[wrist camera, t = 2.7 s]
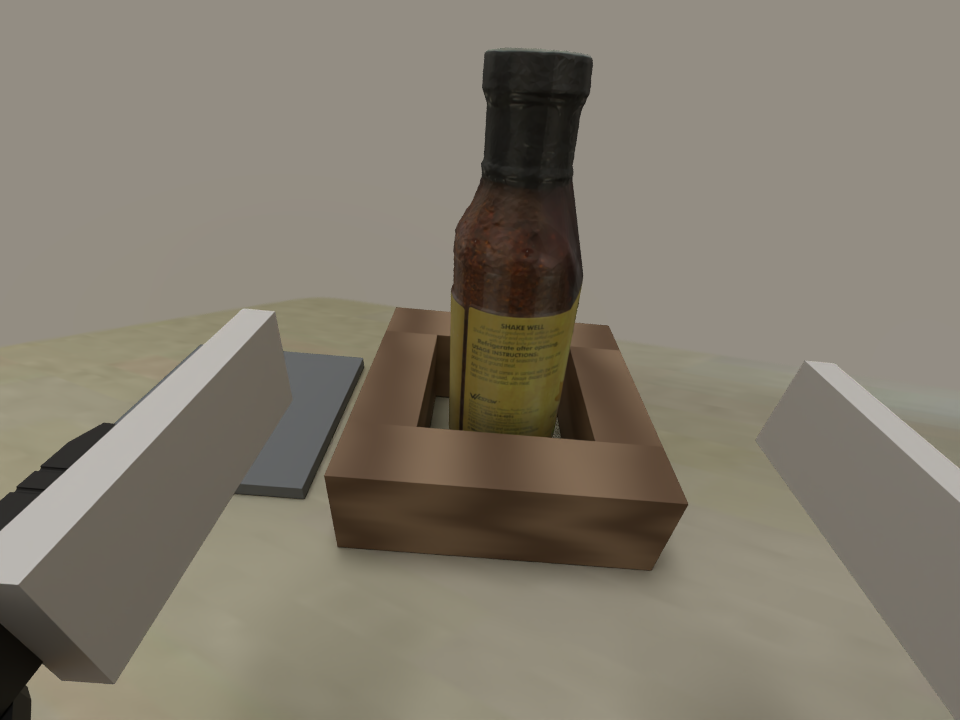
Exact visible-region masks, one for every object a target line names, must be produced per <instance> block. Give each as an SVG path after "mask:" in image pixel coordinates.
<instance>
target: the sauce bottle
mask: <svg viewBox="0 0 960 720" xmlns="http://www.w3.org/2000/svg"><path fill="white" fill-rule="evenodd" d="M484 58H485V59H484V69H483V84H482V88H483V92H484V95H485V98H486V101H487V112H486V131H485V150H484V159H483V161H482V163H481V167H482V178H481V180H480V185H479V186H478V189H477V191H476V193H475V196H474V199H473V201H472V203H471V204H470V206H469V207H468V208H467V209H466V211H465V213H464V215H463V216H462V218H461V219H460V221H459V223H458V225H457V227H456V229H455V233H456V235H455V241H454V284H453V286H452V289H451V328H450V393H449V429H450V430H461V431H473V432H485V433H498V434H510V435H522V436H535V437H547V438H552V437H553V433H554V428H555V423H556V418H557V413H558V408H559V403H560V398H561V393H562V387H563V381H564V377H565V371H566V366H567V361H568V356H569V351H570V345H571V340H572V335H573V331H574V324H575V319H576V313H577V308H578V304H579V298H580V292H581V286H582V281H583V269H582V260H581V251H580V243H579V234H578V225H577V216H576V207H575V198H574V190H573V182H572V176H573V166H572V165H573V160H574V152H575V146H576V141H577V133H578V128H579V119H580V115H581V111H582V108H583V106H584V104H585V102H586V99H587V97H588V96H589V93H590V88H591V75H592V67H593V62H592V61H593V60H592V58H591V56H590V55H588V54H582V53H576V52H568V51H557V50H544V49H522V48H500V49H492V50H488V51H486V52H485V55H484Z"/></svg>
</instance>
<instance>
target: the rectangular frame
mask: <svg viewBox="0 0 960 720" xmlns="http://www.w3.org/2000/svg"><path fill="white" fill-rule="evenodd" d="M450 328H451V312H444V311H433V310H421V309H409V308H398V307H396V309H395V312H394V314H393V316H392V319H391V321H390V323H389V326H388V328H387V330H386V333H385V335H384V337H383V340H382V342H381V344H380V347H379V349H378V351H377V354H376V356H375V358H374V361H373V363H372V365H371V368H370V370H369V372H368V375H367V377H366V379H365V382H364V384H363V386H362V389H361V391H360V393H359V396H358V398H357V400H356V403H355V405H354V407H353V410H352V412H351V414H350V417H349V419H348V421H347V424H346V426H345V428H344V431H343V433H342V435H341V438H340V440H339V442H338V445H337V447H336V449H335V452H334V454H333V456H332V459H331V461H330V463H329V466H328V468H327V470H326V473H325V475H324V477H325V482H326V488H327V493H328V498H329V504H330V509H331V514H332V520H333V525H334V530H335V536H336V541H337V546H338V547H348V548H361V549H374V550H388V551H401V552H414V553H427V554H441V555H454V556H467V557H480V558H494V559H507V560H520V561H534V562H547V563H560V564H573V565H587V566H600V567H613V568H626V569H640V570H652V568H653V567H654V565H655V563H656V561H657V559H658V558H659V556H660V554H661V552H662V551H663V549H664V547H665V545H666V543H667V542H668V540H669V538H670V536H671V534H672V533H673V531H674V529H675V527H676V526H677V524H678V522H679V520H680V518H681V517H682V515H683V513H684V511H685V509H686V508H687V506H688V502H687V500H686V498H685V495H684V493H683V491H682V489H681V486H680V484H679V482H678V480H677V477H676V475H675V473H674V471H673V469H672V466H671V464H670V462H669V460H668V457H667V455H666V453H665V451H664V448H663V446H662V444H661V442H660V439H659V437H658V435H657V433H656V431H655V428H654V426H653V424H652V422H651V419H650V417H649V415H648V413H647V410H646V408H645V406H644V404H643V401H642V399H641V397H640V395H639V393H638V390H637V388H636V386H635V384H634V381H633V379H632V377H631V375H630V372H629V370H628V368H627V366H626V363H625V361H624V359H623V357H622V355H621V352H620V350H619V348H618V346H617V343H616V341H615V339H614V337H613V334H612V332H611V330H610V328H609V326H607V325H595V324H584V323H575V324H574V331H573V335H572V340H571V345H570V351H569V356H568V361H567V366H566V371H565V377H564V381H563V387H562V393H561V398H560V403H559V408H558V413H557V417H558V422H559V428H560V433H561V439H560V438H547V437H535V436H522V435H510V434H498V433H485V432H473V431H461V430H448V429H436V428H430V423H431V418H432V413H433V407H434V402H435V397H436V396H443V397H449V393H450Z"/></svg>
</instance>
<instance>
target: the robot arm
mask: <svg viewBox="0 0 960 720" xmlns="http://www.w3.org/2000/svg"><path fill="white" fill-rule="evenodd" d="M292 400H293V398H292V393H291V388H290V383H289V379H288V374H287V369H286V364H285V359H284V354H283V349H282V344H281V339H280V334H279V329H278V324H277V319H276V314H275V311H264V310H254V309H242V310H241V311H240V312H239V313H238V314H237V315H235V316H234V317H233V318H232V319H231V320H230V321H229V322H228V323H227V324H226V325H225V326H223V327H222V328H221V329H220V330H219V331H218V332H217V333H216V334H215V335H214V336H213V337H211V338H210V339H209V340H208V341H207V342H206V343H205V344H204V345H203V346H202V347H201V348H199V349H198V350H197V351H196V352H195V353H194V354H193V355H192V356H191V357H190V358H189V359H187V360H186V361H185V362H184V363H183V364H182V365H181V366H180V367H179V368H178V369H177V370H175V371H174V372H173V373H172V374H171V375H170V376H169V377H168V378H167V379H166V380H165V381H163V382H162V383H161V384H160V385H159V386H158V387H157V388H156V389H155V390H154V391H153V392H151V393H150V394H149V395H148V396H147V397H146V398H145V399H144V400H143V401H142V402H141V403H139V404H138V405H137V406H136V407H135V408H134V409H133V410H132V411H131V412H130V413H129V414H127V415H126V416H125V417H124V418H123V419H122V420H121V421H120V422H119V423H118V424H111V423H102V424H101V425H99V426H97V427H95V428H93V429H92V430H90V431H88V432H86V433H84V434H82V435H81V436H79V437H77V438H75V439H73V440H71V441H70V442H68V443H67V444H66V445H65V446H63V447H62V448H61V449H60V450H59V451H58V452H56V453H55V454H54V455H53V456H52V457H51V458H49V459H48V460H47V461H46V462H45V463H44V464H42V465H41V469H40V470H39V471H34V472H33V473H32V474H31V475H30V476H28V477H27V478H26V479H25V480H24V481H23V482H21V483H20V484H19V485H18V486H17V489H16V491H15V492H10V493H8V494H7V495H6V496H5V497H4V498H3V499H1V500H0V720H31V698H30V694H29V691H28V687H27V686H26V684H27V682H28V681H29V680H30V679H31V677H32V676H33V675H34V673H35V672H36V671H37V670H38V668H39V667H40V666H41V664H43V665H45V666H46V667H47V668H48V669H49V670H50V671H51V672H52V673H54V674H55V675H56V676H57V677H58V678H59V679H60V680H62V681H76V682H90V683H104V684H115V682H116V681H117V679H118V678H119V676H120V674H121V673H122V671H123V670H124V668H125V666H126V665H127V663H128V662H129V660H130V658H131V657H132V655H133V654H134V652H135V651H136V649H137V647H138V646H139V644H140V643H141V641H142V639H143V638H144V636H145V635H146V633H147V631H148V630H149V628H150V627H151V625H152V623H153V622H154V620H155V619H156V617H157V615H158V614H159V612H160V611H161V609H162V607H163V606H164V604H165V603H166V601H167V600H168V598H169V596H170V595H171V593H172V592H173V590H174V588H175V587H176V585H177V584H178V582H179V580H180V579H181V577H182V576H183V574H184V572H185V571H186V569H187V568H188V566H189V564H190V563H191V561H192V560H193V558H194V556H195V555H196V553H197V552H198V550H199V548H200V547H201V545H202V544H203V542H204V541H205V539H206V537H207V536H208V534H209V533H210V531H211V529H212V528H213V526H214V525H215V523H216V521H217V520H218V518H219V517H220V515H221V513H222V512H223V510H224V509H225V507H226V505H227V504H228V502H229V501H230V499H231V497H232V496H233V494H234V493H235V491H236V490H237V488H238V486H239V485H240V483H241V482H242V480H243V478H244V477H245V475H246V474H247V472H248V470H249V469H250V467H251V466H252V464H253V462H254V461H255V459H256V458H257V456H258V454H259V453H260V451H261V450H262V448H263V446H264V445H265V443H266V442H267V440H268V439H269V437H270V435H271V434H272V432H273V431H274V429H275V427H276V426H277V424H278V423H279V421H280V419H281V418H282V416H283V415H284V413H285V411H286V410H287V408H288V407H289V405H290V403H291V402H292ZM755 441H756V442H757V444H758V445H759V447H760V448H761V449H762V451H763V452H764V453H765V455H766V456H767V458H768V459H769V460H770V462H771V463H772V465H773V466H774V467H775V469H776V470H777V472H778V473H779V474H780V476H781V477H782V479H783V480H784V481H785V483H786V484H787V486H788V487H789V488H790V490H791V491H792V493H793V494H794V495H795V497H796V498H797V500H798V501H799V502H800V504H801V505H802V507H803V508H804V509H805V511H806V512H807V513H808V515H809V516H810V518H811V519H812V520H813V522H814V523H815V525H816V526H817V527H818V529H819V530H820V532H821V533H822V534H823V536H824V537H825V539H826V540H827V541H828V543H829V544H830V546H831V547H832V548H833V550H834V551H835V553H836V554H837V555H838V557H839V558H840V560H841V561H842V562H843V564H844V565H845V567H846V568H847V569H848V571H849V572H850V573H851V575H852V576H853V578H854V579H855V580H856V582H857V583H858V585H859V586H860V587H861V589H862V590H863V592H864V593H865V594H866V596H867V597H868V599H869V600H870V601H871V603H872V604H873V606H874V607H875V608H876V610H877V611H878V613H879V614H880V615H881V617H882V618H883V620H884V621H885V622H886V624H887V625H888V627H889V628H890V629H891V631H892V632H893V633H894V635H895V636H896V638H897V639H898V640H899V642H900V643H901V645H902V646H903V647H904V649H905V650H906V652H907V653H908V654H909V656H910V657H911V659H912V660H913V661H914V663H915V664H916V666H917V667H918V668H919V670H920V671H921V673H922V674H923V675H924V677H925V678H926V680H927V681H928V682H929V684H930V685H931V686H932V688H933V689H934V691H935V692H936V693H937V695H938V696H939V698H940V699H941V700H942V702H943V703H944V705H945V706H946V707H947V709H948V710H949V712H950V713H951V714H952V716H953V717H954V719H955V720H960V469H959V468H958V467H957V466H956V465H955V464H954V463H952V462H951V461H950V460H949V459H948V458H946V457H945V456H944V455H943V454H942V453H940V452H939V451H938V450H937V449H936V448H935V447H933V446H932V445H931V444H930V443H929V442H927V441H926V440H925V439H924V438H923V437H921V436H920V435H919V434H918V433H917V432H916V431H914V430H913V429H912V428H911V427H910V426H908V425H907V424H906V423H905V422H904V421H902V420H901V419H900V418H899V417H898V416H897V415H895V414H894V413H893V412H892V411H891V410H889V409H888V408H887V407H886V406H885V405H883V404H882V403H881V402H880V401H879V400H877V399H876V398H875V397H874V396H873V395H872V394H870V393H869V392H868V391H867V390H866V389H864V388H863V387H862V386H861V385H860V384H858V383H857V382H856V381H855V380H854V379H853V378H851V377H850V376H849V375H848V374H847V373H845V372H844V371H843V370H842V369H841V368H839V367H838V366H837V365H836V364H835V363H824V362H814V361H804V363H803V364H802V366H801V367H800V369H799V371H798V372H797V374H796V375H795V377H794V379H793V380H792V382H791V383H790V385H789V387H788V388H787V390H786V391H785V393H784V395H783V396H782V398H781V399H780V401H779V403H778V404H777V406H776V407H775V409H774V411H773V412H772V414H771V416H770V417H769V419H768V420H767V422H766V424H765V425H764V427H763V428H762V430H761V432H760V433H759V435H758V436H757V438H756V440H755Z"/></svg>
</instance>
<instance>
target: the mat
mask: <svg viewBox="0 0 960 720" xmlns="http://www.w3.org/2000/svg"><path fill="white" fill-rule="evenodd" d="M202 346H203V345H202V344H201V345H199V346H198V347H197V348H196V349H195V350H194V351H193V352H192V353H191V354H190V355H189V356H187V357H186V358H185V359H184V360H183V361H182V362H181V363H180V364H179V365H178V366H176V367H175V368H174V369H173V370H172V371H171V372H170V373H169V374H168V375H167V376H166V377H164V378H163V379H162V380H161V381H160V382H159V383H158V384H157V385H156V386H155V387H154V388H152V389H151V390H150V391H149V392H148V393H147V394H146V395H145V396H144V397H143V398H141V399H140V400H139V401H138V402H137V403H136V404H135V405H134V406H133V407H132V408H131V409H129V410H128V411H127V412H126V413H125V414H124V415H123V416H122V417H121V418H120V419H119V420H117V421H116V422H115V423H114V424H118V423H119V422H120V421H121V420H122V419H123V418H124V417H125V416H126V415H127V414H129V413H130V412H131V411H132V410H133V409H134V408H135V407H136V406H137V405H138V404H139V403H141V402H142V401H143V400H144V399H145V398H146V397H147V396H148V395H149V394H150V393H151V392H153V391H154V390H155V389H156V388H157V387H158V386H159V385H160V384H161V383H162V382H163V381H165V380H166V379H167V378H168V377H169V376H170V375H171V374H172V373H173V372H174V371H175V370H177V369H178V368H179V367H180V366H181V365H182V364H183V363H184V362H185V361H186V360H187V359H189V358H190V357H191V356H192V355H193V354H194V353H195V352H196V351H197V350H198V349H199V348H201V347H202ZM283 354H284V359H285V364H286V369H287V374H288V379H289V383H290V388H291V393H292V398H293V400H292V402H291V403H290V405H289V407H288V408H287V410H286V411H285V413H284V415H283V416H282V418H281V419H280V421H279V423H278V424H277V426H276V427H275V429H274V431H273V432H272V434H271V435H270V437H269V439H268V440H267V442H266V443H265V445H264V446H263V448H262V450H261V451H260V453H259V454H258V456H257V458H256V459H255V461H254V462H253V464H252V466H251V467H250V469H249V470H248V472H247V474H246V475H245V477H244V478H243V480H242V482H241V483H240V485H239V486H238V488H237V490H236V491H235V493H237V494H250V495H263V496H276V497H289V498H302V499H304V498H305V496H306V494H307V492H308V489H309V487H310V485H311V483H312V481H313V478H314V476H315V474H316V472H317V470H318V467H319V465H320V463H321V461H322V459H323V456H324V454H325V452H326V450H327V447H328V445H329V443H330V441H331V439H332V436H333V434H334V432H335V430H336V428H337V425H338V423H339V421H340V419H341V416H342V414H343V412H344V410H345V408H346V405H347V403H348V401H349V399H350V397H351V394H352V392H353V390H354V388H355V385H356V383H357V381H358V379H359V377H360V374H361V372H362V370H363V368H364V362H363V358H357V357H345V356H333V355H321V354H309V353H297V352H285V351H283Z"/></svg>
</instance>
